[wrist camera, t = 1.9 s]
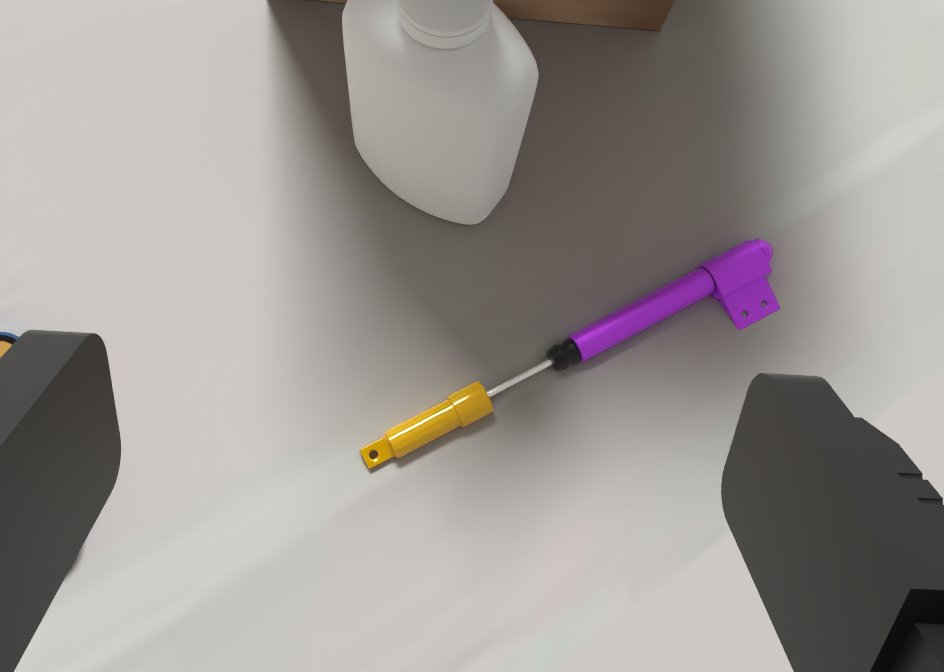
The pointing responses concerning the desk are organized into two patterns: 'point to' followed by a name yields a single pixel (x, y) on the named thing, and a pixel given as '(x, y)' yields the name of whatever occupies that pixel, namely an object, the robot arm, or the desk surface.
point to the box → (587, 11)
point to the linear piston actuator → (604, 340)
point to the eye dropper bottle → (438, 100)
